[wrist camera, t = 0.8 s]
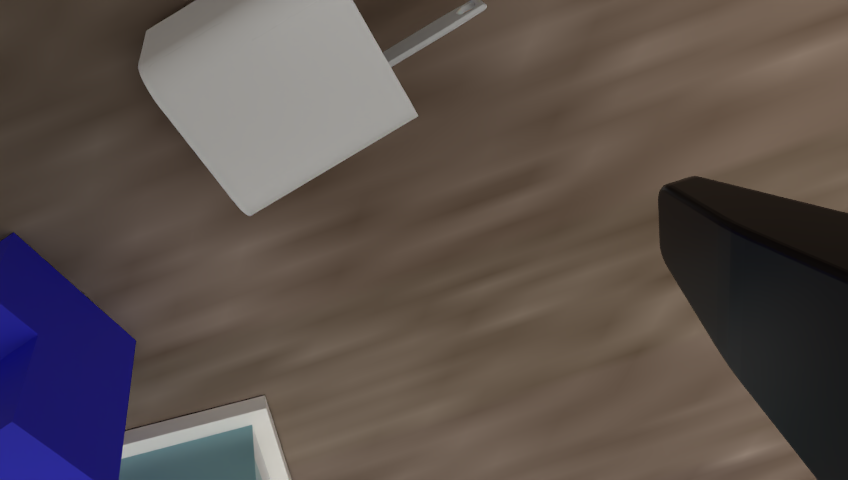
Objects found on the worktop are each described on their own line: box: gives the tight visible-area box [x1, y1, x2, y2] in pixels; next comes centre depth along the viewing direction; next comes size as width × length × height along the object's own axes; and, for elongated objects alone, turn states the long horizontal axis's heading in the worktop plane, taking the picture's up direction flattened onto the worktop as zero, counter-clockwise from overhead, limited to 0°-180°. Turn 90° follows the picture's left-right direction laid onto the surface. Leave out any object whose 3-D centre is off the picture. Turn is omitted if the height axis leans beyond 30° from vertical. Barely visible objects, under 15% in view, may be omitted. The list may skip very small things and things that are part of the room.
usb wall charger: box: [138, 0, 487, 216], centre depth 18 cm, size 4×7×4 cm, turn 117°
